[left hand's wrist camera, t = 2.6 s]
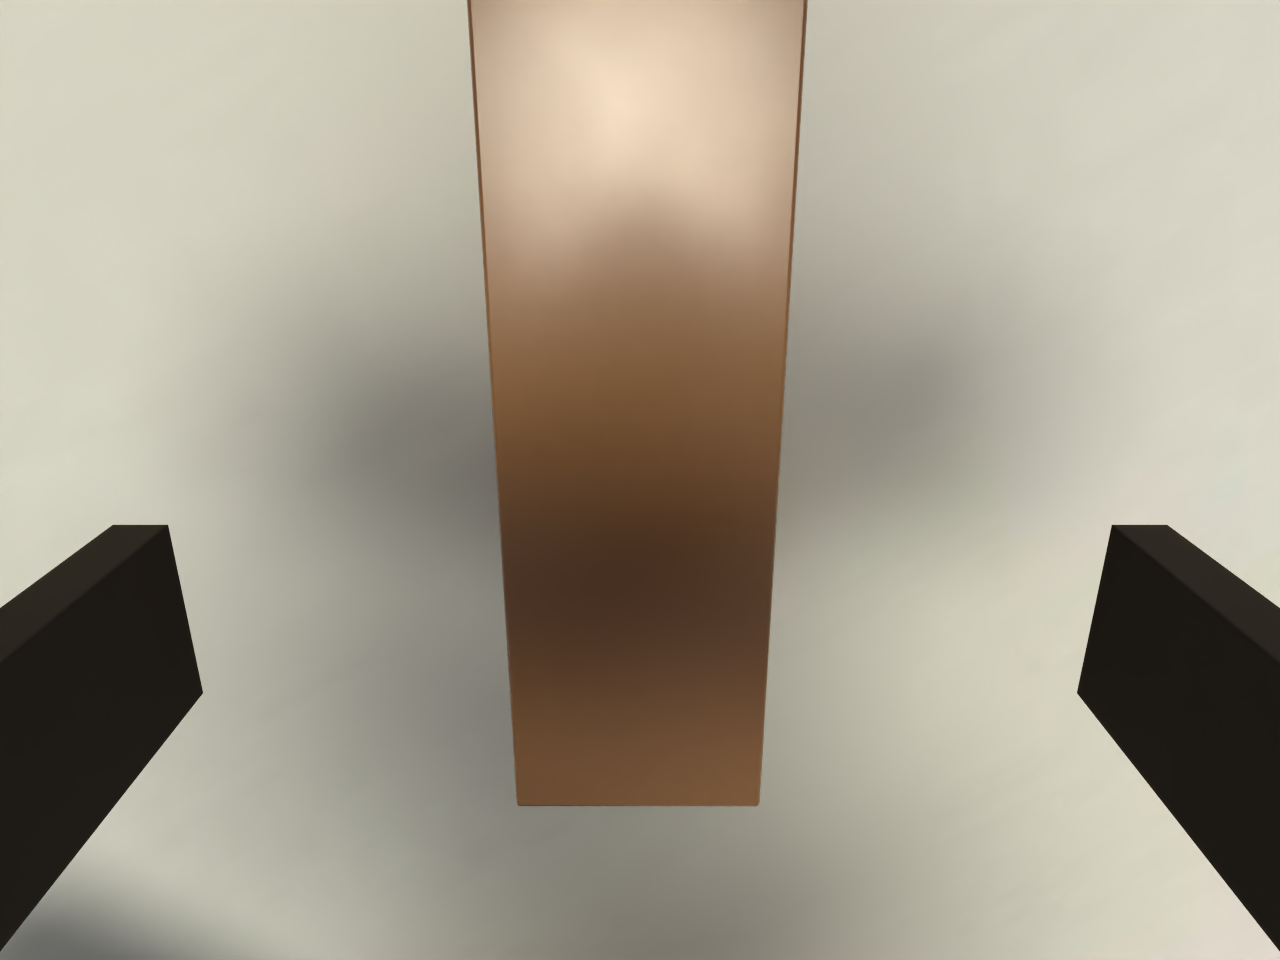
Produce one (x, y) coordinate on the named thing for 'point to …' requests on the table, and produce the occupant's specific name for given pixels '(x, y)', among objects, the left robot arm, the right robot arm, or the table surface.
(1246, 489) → the table surface
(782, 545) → the table surface
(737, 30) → the beam
